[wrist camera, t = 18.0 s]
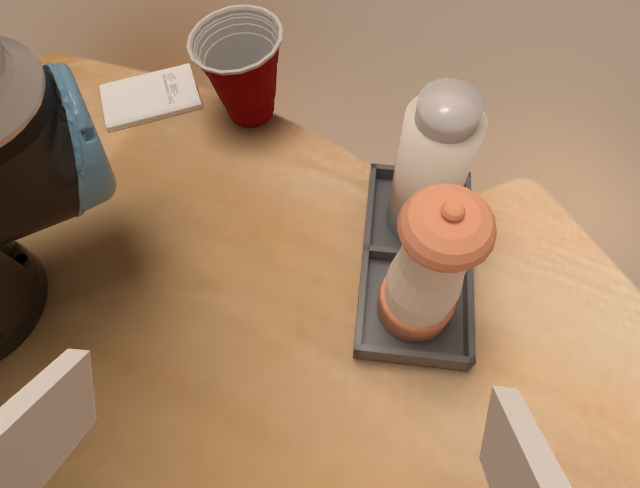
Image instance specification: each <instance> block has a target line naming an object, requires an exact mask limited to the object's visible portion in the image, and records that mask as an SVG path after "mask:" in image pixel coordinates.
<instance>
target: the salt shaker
mask: <svg viewBox="0 0 640 488" xmlns="http://www.w3.org/2000/svg"><path fill="white" fill-rule="evenodd" d="M487 127H488V121H487V117H486V114H485V112H484V100H483V97H482V95H481V93H480V92H479V91H478V90H477V89H476V88H475V87H474V86H472V85H471V84H469V83H467V82H465V81H462V80H459V79H453V78H443V79H437V80H434V81H432V82H430V83H428V84H427V85H425V86H424V87H423V88H422V90H421V91H420V93H419V95H418V96H417V97H415V98H414V99H413V100H412V101H411V102H410V103H409V105H408V107H407V108H406V111H405V116H404V121H403V127H402V132H401V138H400V143H399V148H398V154H397V159H396V164H395V170H394V175H393V181H392V186H391V191H390V197H389V202H388V207H387V213H386V222H387V226H388V228H389V230H390V231H391V233H392V234H393V235H394V236H395V237H396V238H397V239H399V240H400V238H399V235H398V233H397V218H398V215H399V213H400V210H401V207H402V206H403V205H404V203H405V202H406V201H407V200H408V199H409V198H410V197H411V196H412V194H413V193H415V192H417V191H418V190H420V189H422V188H424V187H426V186H431V185H435V184H440V183H446V184H456V185H460V186H464V184H465V182H466V179H467V177H468V174H469V172H470V169H471V167H472V165H473V162H474V160H475V157H476V155H477V153H478V150H479V148H480V145H481V143H482V141H483V138H484V136H485V133H486V131H487Z"/></svg>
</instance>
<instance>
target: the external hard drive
mask: <svg viewBox="0 0 640 488" xmlns="http://www.w3.org/2000/svg"><path fill="white" fill-rule="evenodd" d="M99 88H100V94H101V100H102V107H103V113H104V120H105V125H106V128H107V130H108V132H109V133H110V132H114V131H118V130H122V129H126V128H129V127H133V126H137V125H141V124H145V123H149V122H152V121H156V120H160V119H164V118H168V117H172V116H176V115H179V114H183V113H187V112H191V111H195V110H199V109H203V107H202V104H201V100H200V97H199V93H198V90H197V87H196V83H195V80H194V76H193V73H192V69H191V66H190V64H189V63H188V64H184V65H180V66H176V67H172V68H167V69H163V70H159V71H155V72H151V73H147V74H142V75H138V76H134V77H130V78H126V79H122V80H118V81H114V82H110V83H106V84H101V85H99Z"/></svg>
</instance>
